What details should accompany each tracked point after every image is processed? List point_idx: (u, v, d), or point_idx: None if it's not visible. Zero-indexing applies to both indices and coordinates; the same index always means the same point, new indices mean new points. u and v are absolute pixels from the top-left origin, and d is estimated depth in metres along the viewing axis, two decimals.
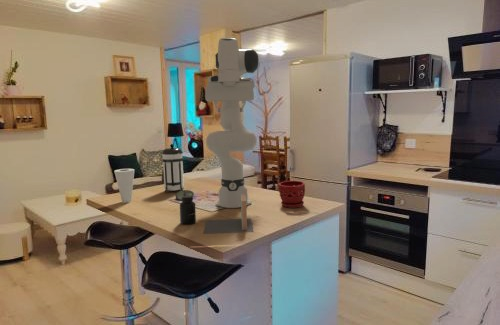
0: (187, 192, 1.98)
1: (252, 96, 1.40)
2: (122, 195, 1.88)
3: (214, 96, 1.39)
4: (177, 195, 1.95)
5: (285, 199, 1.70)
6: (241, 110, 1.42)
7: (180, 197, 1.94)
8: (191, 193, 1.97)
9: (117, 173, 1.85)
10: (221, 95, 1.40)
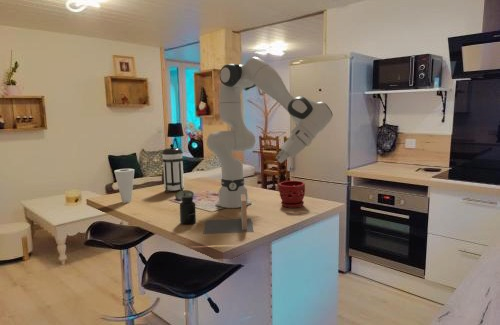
0: (187, 192, 1.98)
1: None
2: (122, 195, 1.88)
3: None
4: (177, 195, 1.95)
5: (285, 199, 1.70)
6: None
7: (180, 197, 1.93)
8: (190, 193, 1.96)
9: (117, 173, 1.85)
10: None
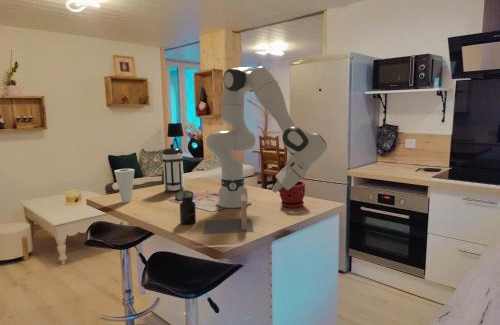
0: (187, 192, 1.97)
1: None
2: (122, 195, 1.88)
3: None
4: (177, 195, 1.94)
5: (285, 199, 1.70)
6: None
7: (180, 197, 1.93)
8: (190, 193, 1.96)
9: (117, 173, 1.85)
10: None
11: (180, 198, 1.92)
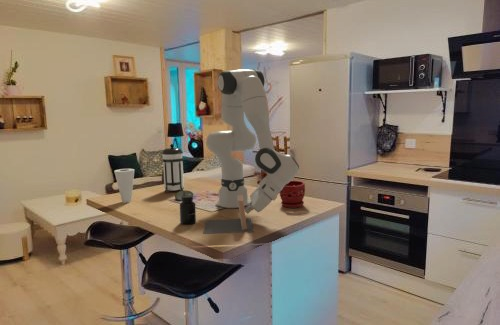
0: (186, 192, 1.97)
1: None
2: (122, 195, 1.88)
3: None
4: (176, 195, 1.94)
5: (285, 199, 1.70)
6: None
7: (179, 197, 1.93)
8: (190, 194, 1.96)
9: (117, 173, 1.85)
10: None
11: (180, 198, 1.92)
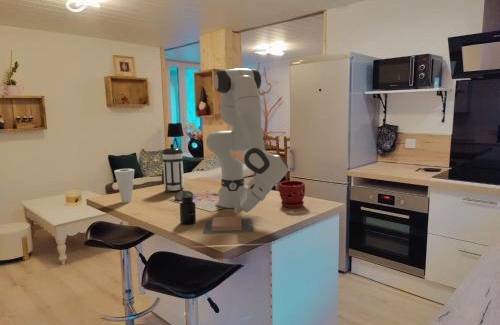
0: (186, 193, 1.97)
1: None
2: (122, 195, 1.88)
3: None
4: (176, 196, 1.94)
5: (285, 199, 1.70)
6: None
7: (179, 198, 1.92)
8: (190, 194, 1.95)
9: (117, 173, 1.85)
10: None
11: (180, 198, 1.92)
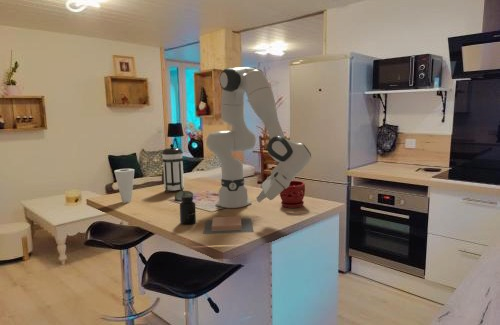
0: (186, 193, 1.97)
1: None
2: (122, 195, 1.88)
3: None
4: (176, 196, 1.93)
5: (285, 199, 1.70)
6: None
7: (179, 198, 1.92)
8: (190, 194, 1.95)
9: (117, 173, 1.85)
10: None
11: (180, 198, 1.91)
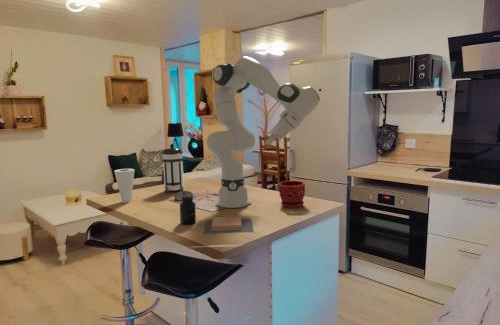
0: (186, 193, 1.96)
1: None
2: (122, 195, 1.88)
3: None
4: (176, 196, 1.93)
5: (285, 199, 1.70)
6: None
7: (179, 198, 1.92)
8: (190, 194, 1.95)
9: (117, 173, 1.85)
10: None
11: (179, 199, 1.91)
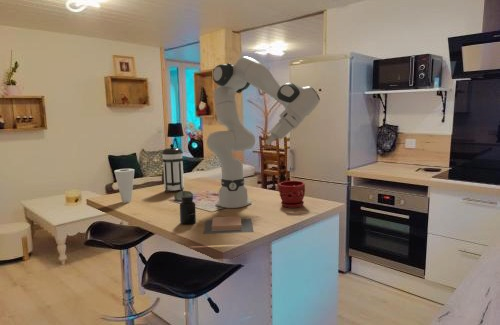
0: (186, 193, 1.96)
1: None
2: (122, 195, 1.88)
3: None
4: (176, 196, 1.93)
5: (285, 199, 1.70)
6: None
7: (179, 198, 1.92)
8: (190, 194, 1.95)
9: (117, 173, 1.85)
10: None
11: (179, 199, 1.91)
